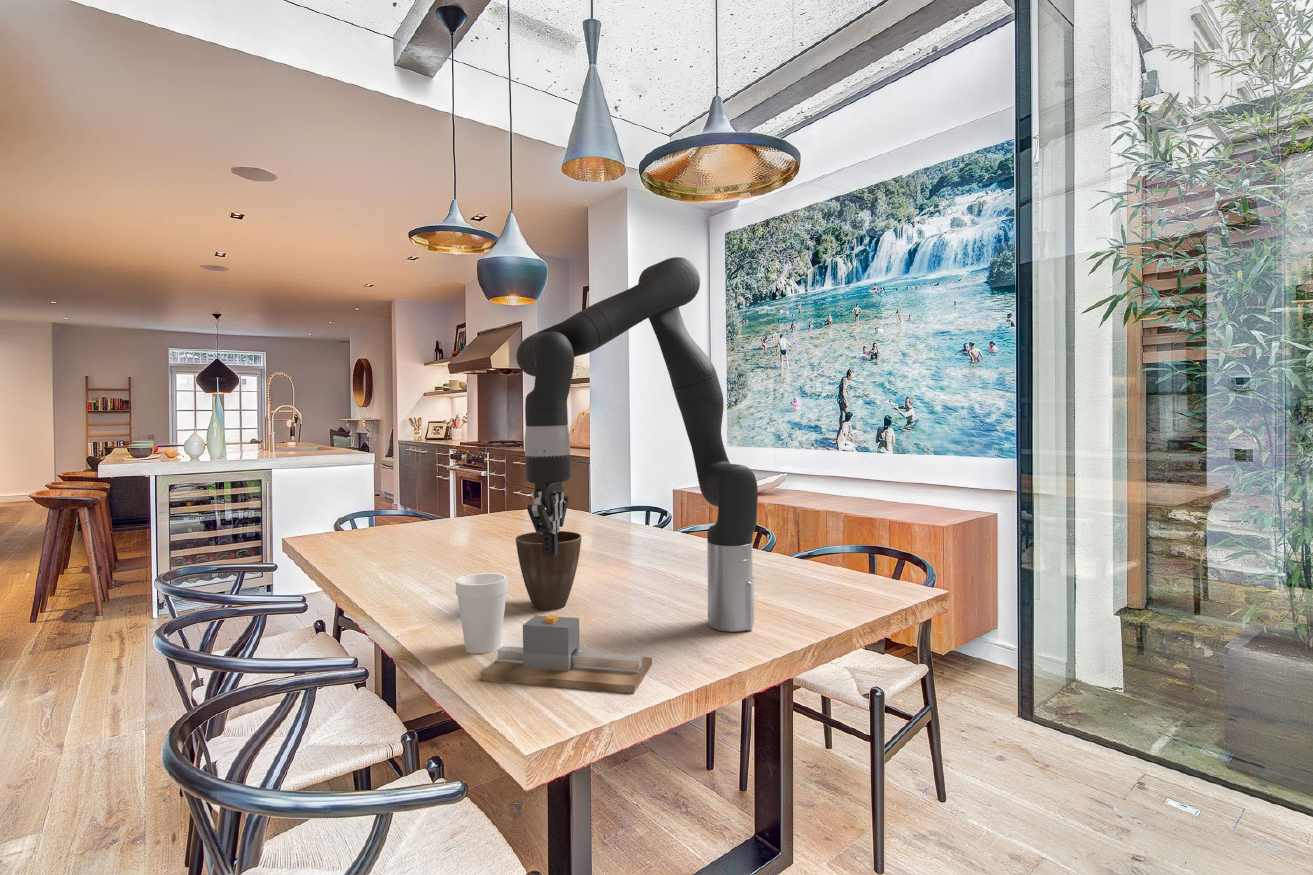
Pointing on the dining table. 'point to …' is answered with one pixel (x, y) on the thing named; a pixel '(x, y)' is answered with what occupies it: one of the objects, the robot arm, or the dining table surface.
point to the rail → (582, 660)
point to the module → (550, 642)
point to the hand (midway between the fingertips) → (550, 555)
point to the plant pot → (548, 568)
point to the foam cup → (482, 610)
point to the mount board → (567, 677)
